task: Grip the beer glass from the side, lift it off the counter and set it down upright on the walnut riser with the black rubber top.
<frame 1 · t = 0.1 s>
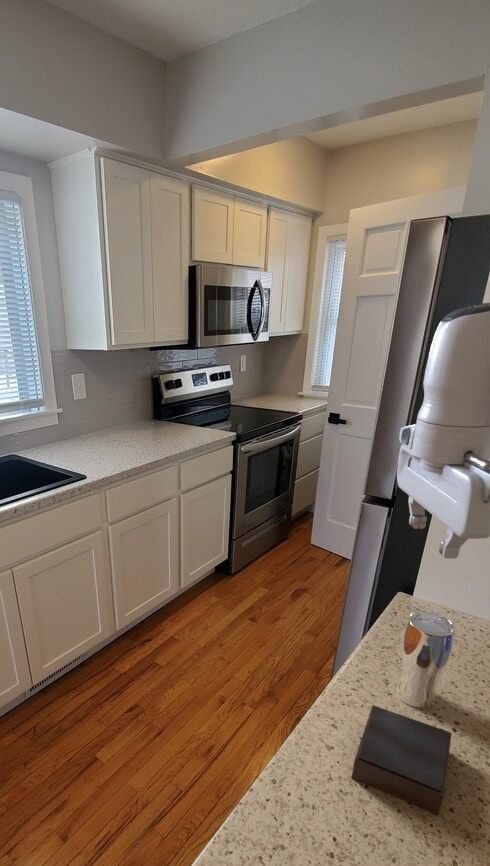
hand: (431, 540, 67), 31 cm above the countertop, tool pointing down, fingers open, 8 cm apart
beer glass: (415, 696, 83), on the countertop
riser: (400, 764, 71), on the countertop
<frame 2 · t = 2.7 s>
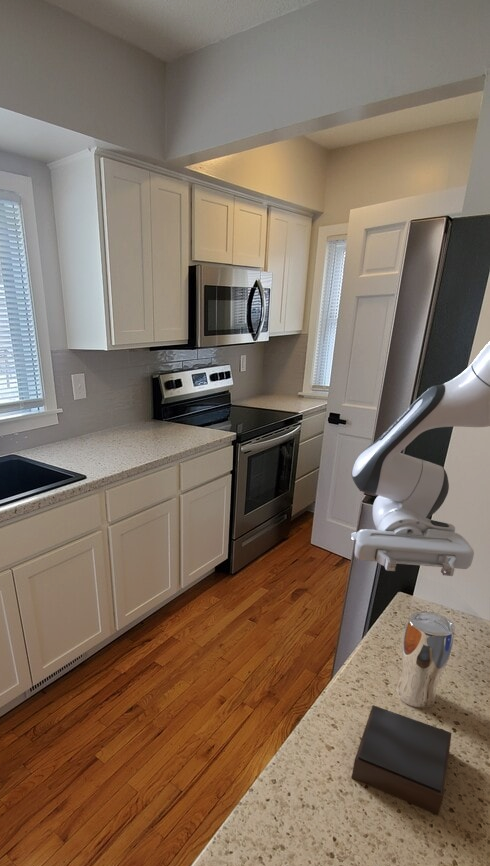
hand: (419, 570, 86), 18 cm above the countertop, tool horizontal, fingers open, 8 cm apart
nothing on the countertop moved.
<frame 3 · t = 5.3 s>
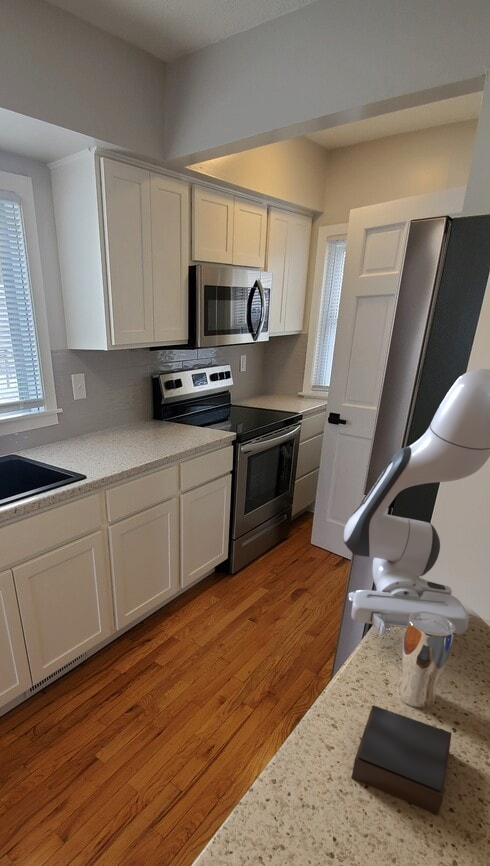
hand: (414, 635, 87), 7 cm above the countertop, tool horizontal, fingers open, 8 cm apart
nothing on the countertop moved.
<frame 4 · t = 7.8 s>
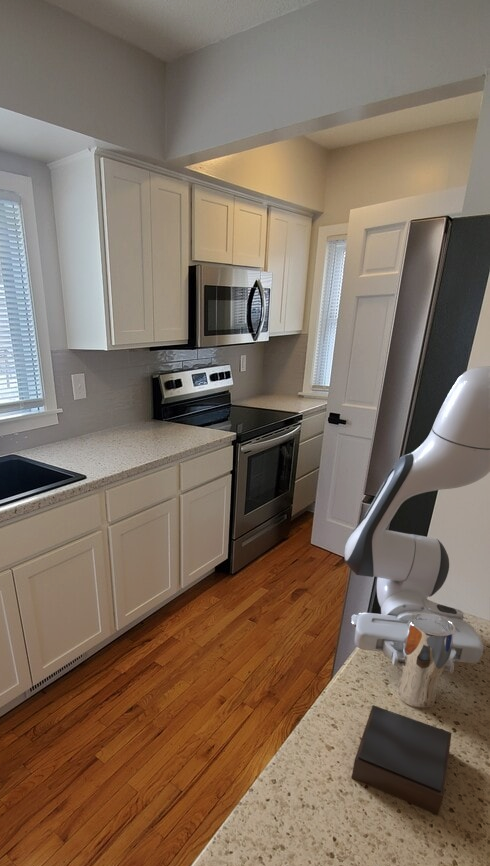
hand: (423, 666, 80), 7 cm above the countertop, tool horizontal, fingers closed on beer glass, 6 cm apart
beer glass: (415, 696, 83), on the countertop, touching gripper
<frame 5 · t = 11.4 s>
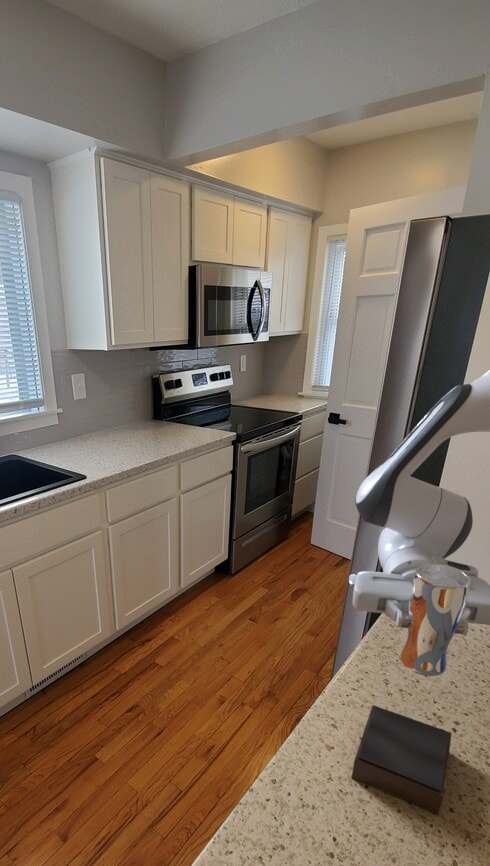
hand: (432, 627, 68), 20 cm above the countertop, tool horizontal, fingers closed on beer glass, 6 cm apart
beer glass: (422, 663, 72), point 13 cm above the countertop, touching gripper
when the fingers open (11 cm above the countertop, at t = 15.5 s): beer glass stays where it is, resting on riser.
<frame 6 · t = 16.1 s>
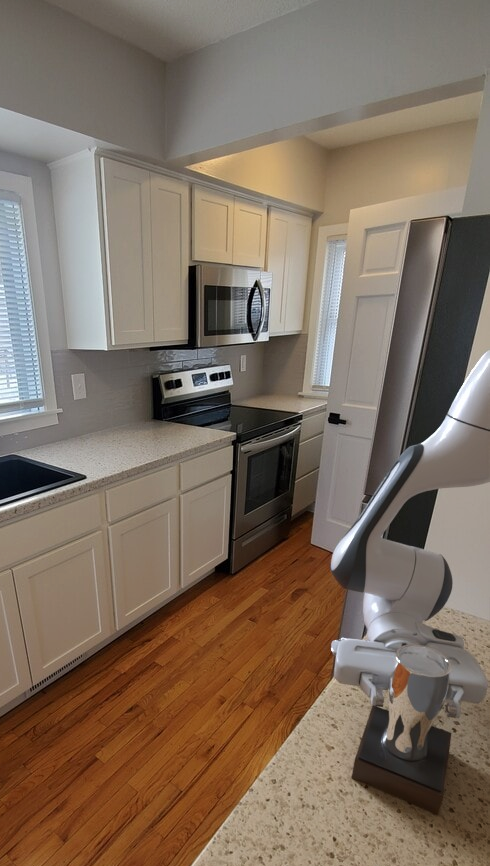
hand: (415, 708, 66), 12 cm above the countertop, tool horizontal, fingers open, 8 cm apart
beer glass: (403, 744, 70), point 4 cm above the countertop, touching riser
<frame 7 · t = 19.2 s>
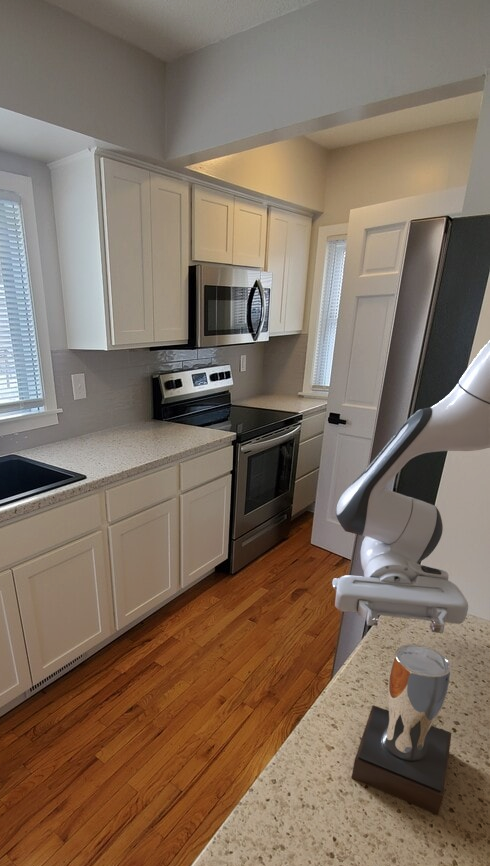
hand: (405, 625, 76), 16 cm above the countertop, tool horizontal, fingers open, 8 cm apart
nothing on the countertop moved.
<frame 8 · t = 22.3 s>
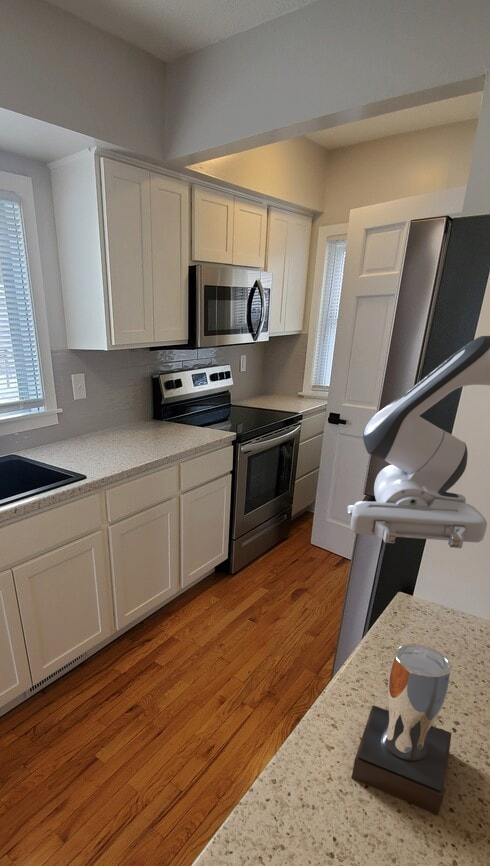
hand: (423, 541, 75), 28 cm above the countertop, tool horizontal, fingers open, 8 cm apart
nothing on the countertop moved.
at the end: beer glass inside the target area on the riser (0.1 cm from its centre), point 3.8 cm above the riser's base; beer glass tilted 0°; the gripper is holding nothing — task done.
